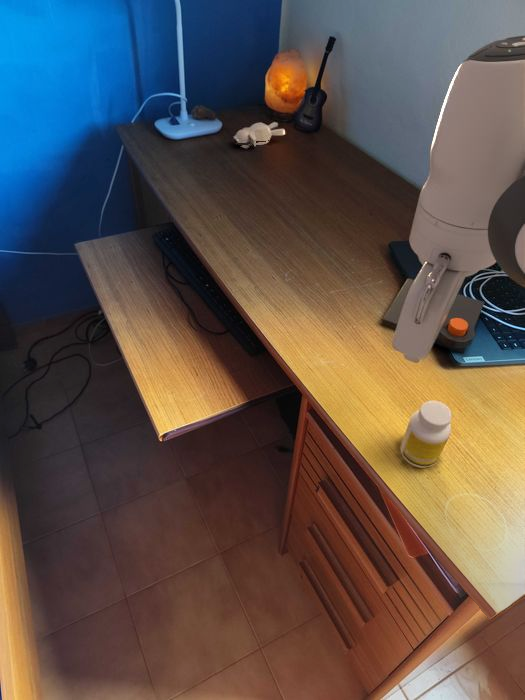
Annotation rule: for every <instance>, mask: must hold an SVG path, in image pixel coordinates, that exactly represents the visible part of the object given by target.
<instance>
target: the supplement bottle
mask: <svg viewBox="0 0 525 700" xmlns="http://www.w3.org/2000/svg"><path fill="white" fill-rule="evenodd" d="M452 416H453V415H452V411H451V410H450V408H449V407H448V406H447V405H446V404H445V403H443V402H441V401H438V400H427V401H425V402H424V403H422V404H421V406H420V408H419V409H418V410H415V412H414V413H413V414H411V416H410V419H409V422H408V424H407V426H406V430H405V432H404V434H403V437H402V440H401V442H400V454H401V455H402V457H403V459H404V460H405V461H406V462H407V463H408V464H410V465H411V466H413V467H416V468H420V469H421V468H422V469H425V468H429V467H432V466H433V465H435V464H436V463H437V462H438V460H439V458H440V456H441V454H442V452H443V450H444V448H445V446H446V444H447V442H448V439H449V438H450V435H451V432H452V425H451V420H452Z"/></svg>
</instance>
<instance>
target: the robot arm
mask: <svg viewBox="0 0 525 700" xmlns="http://www.w3.org/2000/svg"><path fill="white" fill-rule="evenodd" d="M429 162H430V167H429V168H430V170H429V174H428V177H427V180H426V182H425V183H424V185H423V186H422V188H421V190H420V193H419V196H418V202H417V204H416V205H417V206H416V210H415V213H414V218H413V221H412V226H411V229H410V234H409V238H408V241H409V245H410V248H411V250H412V251H413V252H414V253H415V255H416V256H417V258H418V260H419V262H420V264H421V265H422V266H421V268H420V270H419V272H418V273H417V275H416V277H415V278H414V279H413V280H414V282H413V284H412V286H411V288H410V290H409V292H408V294H407V297H406V299H405V302H404V305H403V308H402V311H401V314H400V317H399V320H398V324H397V327H396V329H394V330H395V331H394V333H393V337H392V343H391V344H392V348H393V349H394V351H396V352H399V353H401V354H403V358H404V360H407V361H409V362H412V363H414V364H418V363H420V361H421V360H425V359H427V358H428V356H429V354H430V352H431V350H432V349H433V346H434V344H435V343H434V342H435V340H436V338H437V336H438V334H439V332H440V329H441V327H442V325H443V323H444V321H445V319H446V317H447V315H448V313H449V311H450V308H451V306H452V304H453V302H454V300H455V298H456V296H457V294H459V292H460V290H461V288H462V286H463V283H464V281H465V279H466V277H467V278H468V277H470V276H474V275H475V274H477V273H478V272H479V271H481V270H485V269H487V268H490V267H491V266H493V265H495V264H498V266H499V268H501V270H502V271H503V273H504V274H505V275H506V276H507V277H509V278H510V279H511V280H512V281H513V282H515V283H516V284H518V285H519V286H521V287H522V288H524V289H525V35H519V36H511V37H510V36H509V37H506V38H503V39H497V40H494V41H492V42H489V43H487V44H485V45H484V46H481V47H480V48H478V49H477V50H475V51H474V52H472V53H471V54H469V56H468V57H467V58H465V60H463V61H462V62H461V63H460V65H459V66H458V68H457V70H456V72H455V74H454V76H453V78H452V81H451V83H450V85H449V88H448V91H447V93H446V96H445V99H444V102H443V105H442V107H441V111H440V115H439V118H438V121H437V124H436V128H435V132H434V136H433V139H432V143H431V148H430V152H429Z"/></svg>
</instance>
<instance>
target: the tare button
mask: <svg viewBox="0 0 525 700" xmlns="http://www.w3.org/2000/svg"><path fill="white" fill-rule="evenodd" d="M467 328H468V323H467V322H466V321H465V320H463V319H461V318H453V319H452V320H451V321H450V323H449V326H448V329H447V330H448V332H449V333H450V334H451V335H453V336H456V337H461V336H464V335H465V333H466V330H467Z"/></svg>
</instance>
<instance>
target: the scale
mask: <svg viewBox="0 0 525 700" xmlns="http://www.w3.org/2000/svg"><path fill="white" fill-rule="evenodd" d="M414 280H415V279H411V278H409V277H408V278H407V279H406V281H404V284H403V285H402V287H401V289H400V291H398V294H397V296H396V297H395V298H394V300H393V302H392V303H391V305H390V307H389V308H388V310H387V312H386V313H385V315H384V316H383V318H382V321H381V325H382V326H385V327H388V328H390V329H393V330H396V327H397V324H398V320H399V317H400V314H401V311H402V308H403V305H404V302H405V299H406V297H407V294H408V292H409V290H410V288H411V286H412V284H413V282H414ZM485 303H486V302H485V301H483V300H479V299H475V298H473V297H470V296H466V295H463V294H460V293H458V294H457V296H456V298H455V300H454V302H453V304H452V306H451V308H450V311H449V313H448V315H447V317H446V319H445V321H444V323H443V325H442V327H441V329H440V332H439V334H438V336H437V338H436V340H435V342H434V344H435V345H438V346H441V347H444V348H447V349H450V350H452V351H455V352H458V353H461V354H464V353H465V351H466V349H467V347H468V346H470V345H471V344H472V342H473V339H474V337H475V335H476V331H475V326H476V325H477V322H478V319H479V317H480V315H481V312H482V310H483V307H484V305H485ZM453 318H461V319H463V320H465V321H466V322H467V323H468V328H467V330H466V333H465V335H464V336H461V337H456V336H453V335H451V334H450V333H449V332H448V330H447V329H448V326H449V323H450V321H451V320H452V319H453Z"/></svg>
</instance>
